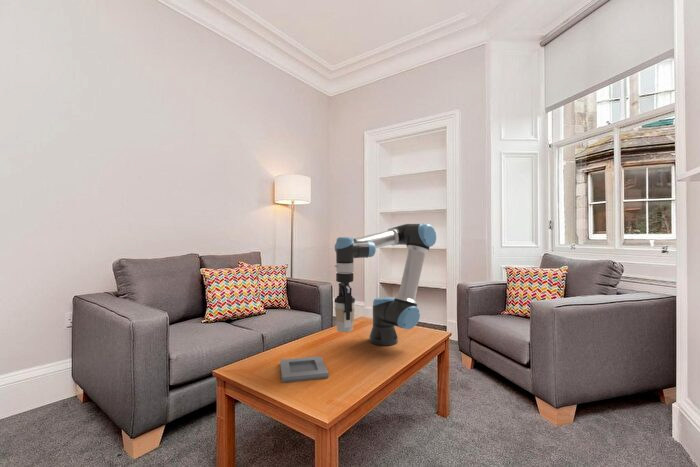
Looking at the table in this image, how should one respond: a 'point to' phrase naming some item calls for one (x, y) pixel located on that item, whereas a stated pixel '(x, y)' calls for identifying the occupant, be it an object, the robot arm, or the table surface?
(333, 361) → the table surface
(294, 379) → the frame
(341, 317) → the coffee cup
